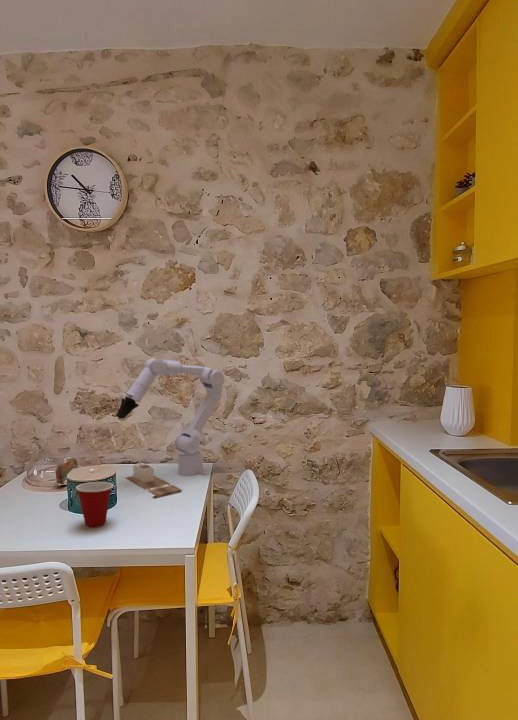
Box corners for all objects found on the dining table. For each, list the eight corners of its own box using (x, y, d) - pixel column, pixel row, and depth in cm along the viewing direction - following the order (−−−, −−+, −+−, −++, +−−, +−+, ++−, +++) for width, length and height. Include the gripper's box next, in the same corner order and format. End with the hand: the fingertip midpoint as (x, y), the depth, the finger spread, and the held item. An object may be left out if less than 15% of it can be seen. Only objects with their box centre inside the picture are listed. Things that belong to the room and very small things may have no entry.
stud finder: (143, 475, 196) (142, 461, 196) (153, 480, 189) (153, 466, 189) (133, 477, 194) (133, 463, 193) (143, 482, 187) (143, 468, 186)
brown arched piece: (63, 489, 184) (62, 466, 183) (54, 489, 184) (53, 466, 183) (78, 476, 199) (78, 455, 198) (71, 476, 199) (70, 455, 198)
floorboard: (148, 475, 199) (148, 472, 199) (181, 492, 179) (181, 488, 179) (124, 480, 193) (124, 477, 193) (155, 498, 173) (155, 495, 173)
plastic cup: (121, 518, 155) (120, 481, 154) (100, 532, 145) (99, 492, 144) (92, 514, 158) (90, 477, 158) (69, 528, 148) (67, 488, 147)
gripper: (129, 381, 191) (108, 411, 187) (134, 378, 178) (112, 411, 174) (144, 392, 193) (124, 422, 189) (151, 389, 179) (129, 421, 175)
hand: (119, 417), depth 181 cm, fingers open, 7 cm apart
